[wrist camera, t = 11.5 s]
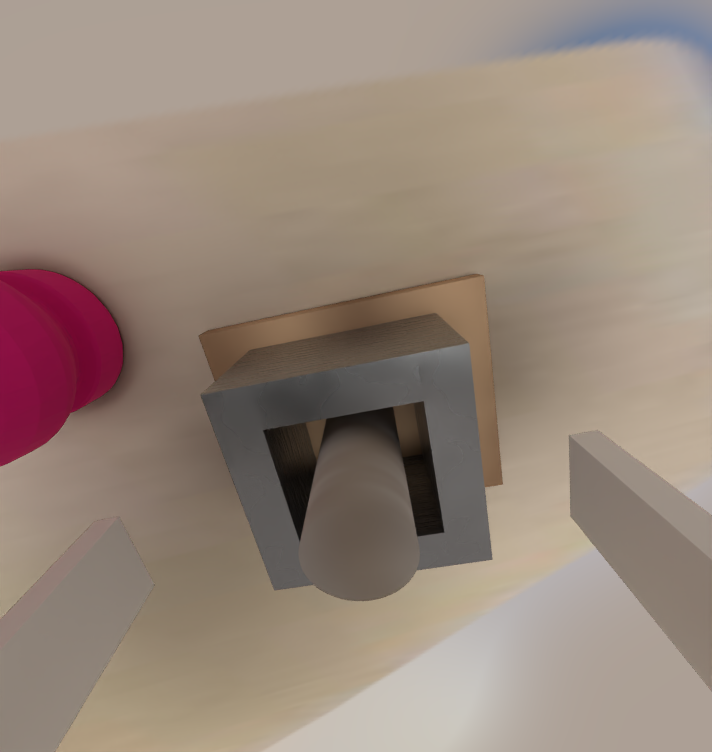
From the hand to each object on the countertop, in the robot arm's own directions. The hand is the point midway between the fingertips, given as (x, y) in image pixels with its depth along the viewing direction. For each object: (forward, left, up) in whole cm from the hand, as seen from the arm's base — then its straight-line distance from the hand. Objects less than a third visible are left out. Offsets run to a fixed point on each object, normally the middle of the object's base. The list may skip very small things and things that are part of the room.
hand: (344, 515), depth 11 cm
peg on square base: (0, 0, -7) cm, 7 cm away
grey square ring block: (0, 0, -6) cm, 6 cm away
